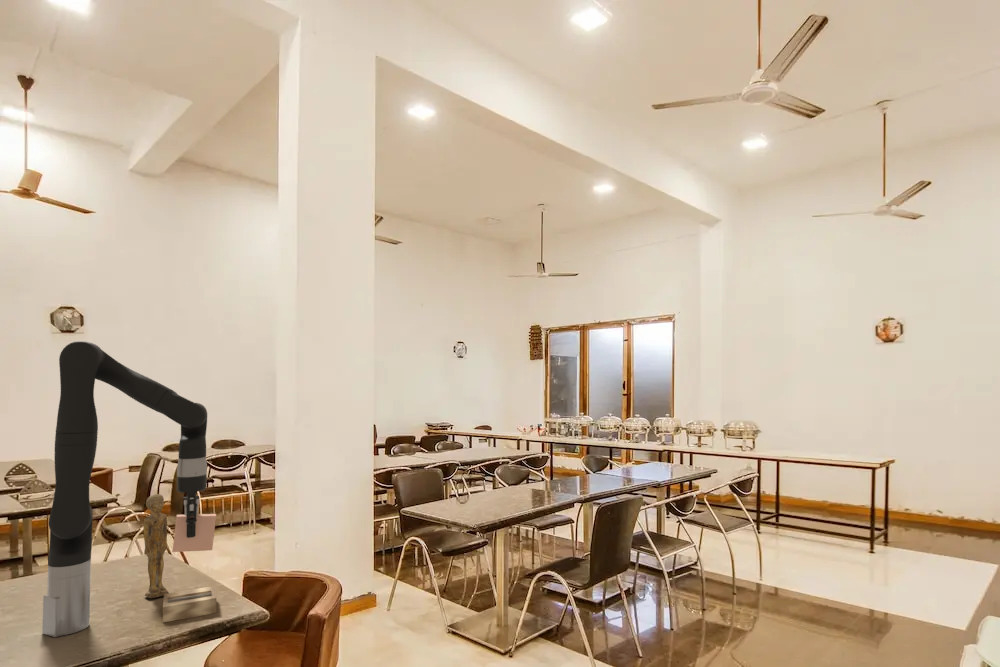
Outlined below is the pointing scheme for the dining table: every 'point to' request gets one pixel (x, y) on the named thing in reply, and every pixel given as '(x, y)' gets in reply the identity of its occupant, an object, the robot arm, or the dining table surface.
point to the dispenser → (189, 603)
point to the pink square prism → (202, 533)
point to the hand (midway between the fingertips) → (190, 535)
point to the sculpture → (155, 544)
